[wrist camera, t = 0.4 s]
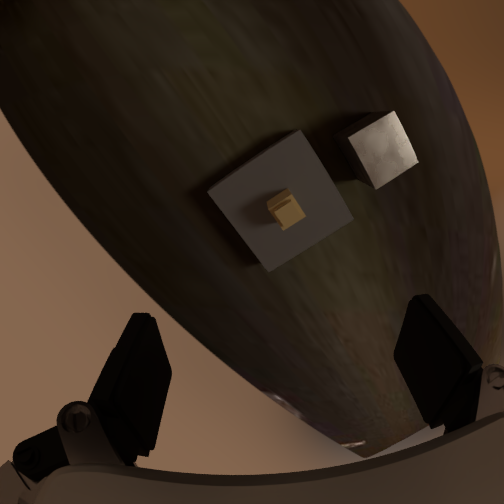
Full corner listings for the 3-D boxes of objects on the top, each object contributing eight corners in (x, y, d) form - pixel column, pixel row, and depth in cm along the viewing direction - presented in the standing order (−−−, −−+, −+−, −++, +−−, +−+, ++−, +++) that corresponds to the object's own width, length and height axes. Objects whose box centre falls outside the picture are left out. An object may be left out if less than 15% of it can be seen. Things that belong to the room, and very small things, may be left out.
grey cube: (373, 111, 31) (394, 110, 26) (395, 155, 34) (418, 162, 28) (332, 135, 33) (347, 137, 27) (357, 179, 35) (375, 189, 30)
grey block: (295, 129, 33) (307, 129, 26) (346, 212, 37) (365, 230, 31) (210, 186, 36) (201, 200, 29) (267, 262, 40) (270, 288, 34)
